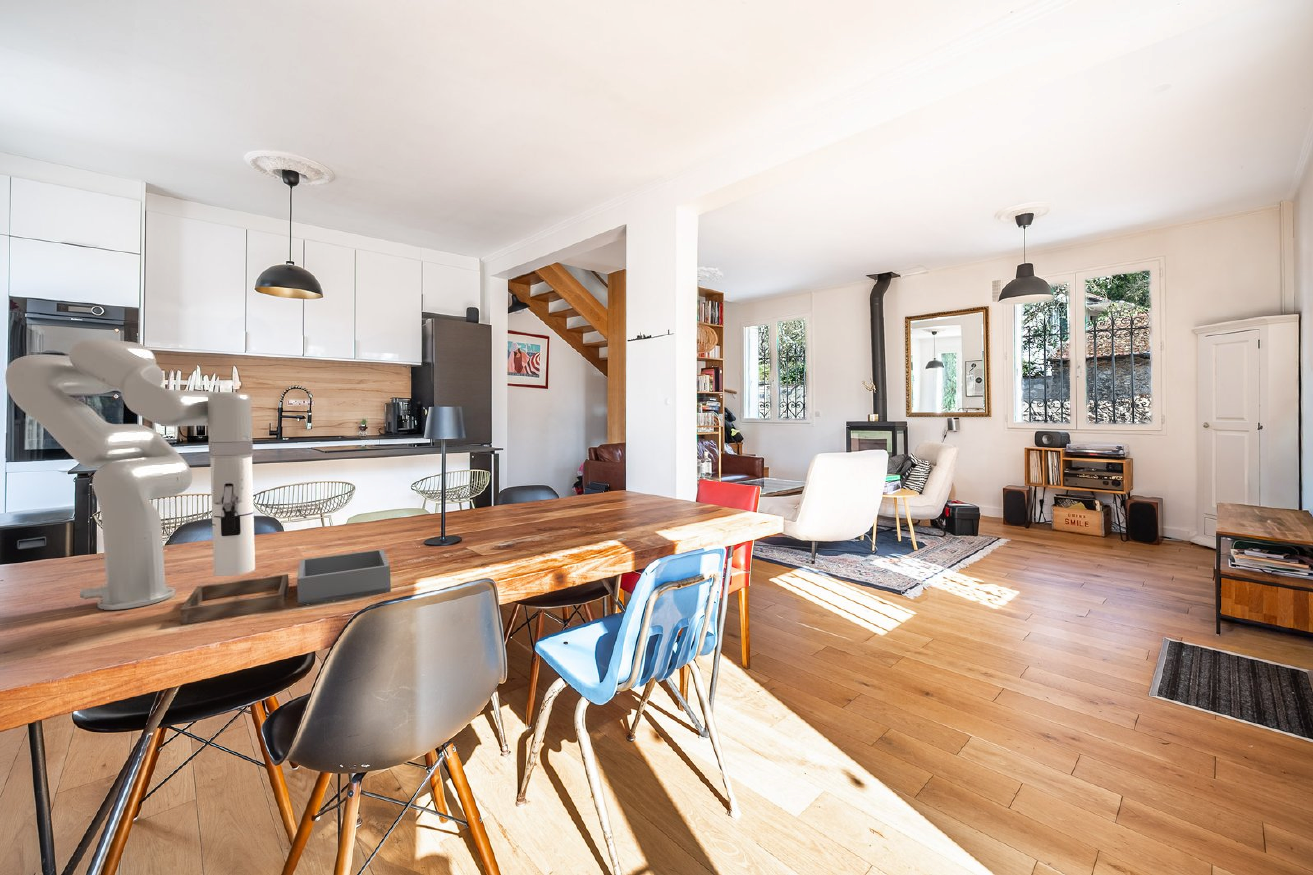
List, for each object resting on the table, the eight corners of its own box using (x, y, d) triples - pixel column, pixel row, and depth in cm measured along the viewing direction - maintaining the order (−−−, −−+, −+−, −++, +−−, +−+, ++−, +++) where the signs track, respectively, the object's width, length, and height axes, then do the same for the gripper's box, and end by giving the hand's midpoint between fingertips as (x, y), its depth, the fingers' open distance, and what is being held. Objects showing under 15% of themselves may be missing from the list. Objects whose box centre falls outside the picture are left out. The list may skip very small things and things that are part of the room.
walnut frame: (181, 624, 110) (180, 609, 110) (197, 599, 125) (197, 586, 125) (284, 608, 119) (283, 594, 119) (288, 586, 133) (288, 574, 133)
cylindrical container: (233, 577, 117) (229, 458, 116) (205, 574, 119) (201, 457, 117) (263, 567, 124) (260, 455, 123) (236, 565, 126) (233, 454, 124)
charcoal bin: (298, 606, 120) (297, 578, 119) (301, 584, 135) (300, 559, 135) (390, 591, 129) (389, 565, 128) (383, 572, 144) (382, 549, 144)
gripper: (215, 447, 125) (218, 525, 126) (201, 453, 111) (204, 542, 112) (256, 446, 129) (259, 522, 130) (247, 452, 114) (250, 538, 115)
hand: (233, 530), depth 121 cm, fingers closed on cylindrical container, 7 cm apart
